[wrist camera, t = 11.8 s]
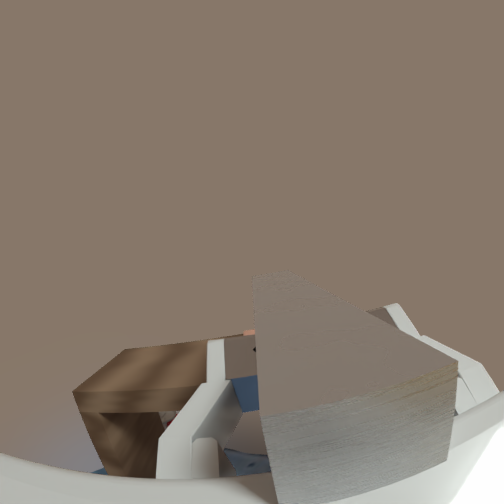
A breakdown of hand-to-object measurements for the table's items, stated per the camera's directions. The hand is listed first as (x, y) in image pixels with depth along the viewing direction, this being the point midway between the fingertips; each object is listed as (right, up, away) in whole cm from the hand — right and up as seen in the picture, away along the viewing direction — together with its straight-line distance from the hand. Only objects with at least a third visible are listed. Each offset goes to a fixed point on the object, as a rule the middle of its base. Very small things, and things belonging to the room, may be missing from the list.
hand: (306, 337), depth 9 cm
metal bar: (0, -2, +5) cm, 6 cm away
